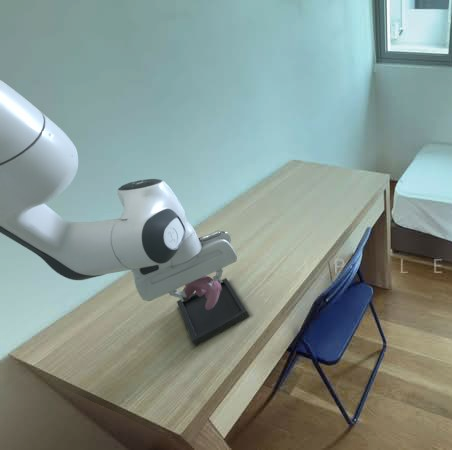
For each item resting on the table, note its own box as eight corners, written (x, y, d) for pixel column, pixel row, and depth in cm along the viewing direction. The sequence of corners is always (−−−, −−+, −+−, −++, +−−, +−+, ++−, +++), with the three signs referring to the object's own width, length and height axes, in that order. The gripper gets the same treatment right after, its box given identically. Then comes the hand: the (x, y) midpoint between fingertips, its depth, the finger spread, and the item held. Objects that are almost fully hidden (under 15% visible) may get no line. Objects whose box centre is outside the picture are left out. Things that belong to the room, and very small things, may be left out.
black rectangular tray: (196, 346, 72) (192, 341, 71) (180, 306, 82) (176, 301, 81) (249, 316, 78) (247, 311, 77) (228, 282, 89) (226, 277, 88)
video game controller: (224, 305, 77) (225, 278, 76) (207, 312, 73) (208, 284, 71) (196, 295, 80) (196, 269, 79) (178, 301, 76) (178, 274, 75)
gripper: (221, 222, 76) (240, 264, 83) (119, 261, 65) (152, 305, 72) (230, 233, 72) (249, 276, 80) (123, 276, 61) (157, 321, 69)
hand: (202, 290), depth 76 cm, fingers closed on video game controller, 6 cm apart
